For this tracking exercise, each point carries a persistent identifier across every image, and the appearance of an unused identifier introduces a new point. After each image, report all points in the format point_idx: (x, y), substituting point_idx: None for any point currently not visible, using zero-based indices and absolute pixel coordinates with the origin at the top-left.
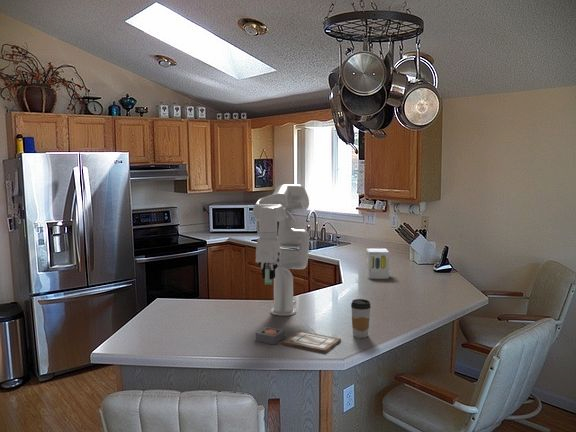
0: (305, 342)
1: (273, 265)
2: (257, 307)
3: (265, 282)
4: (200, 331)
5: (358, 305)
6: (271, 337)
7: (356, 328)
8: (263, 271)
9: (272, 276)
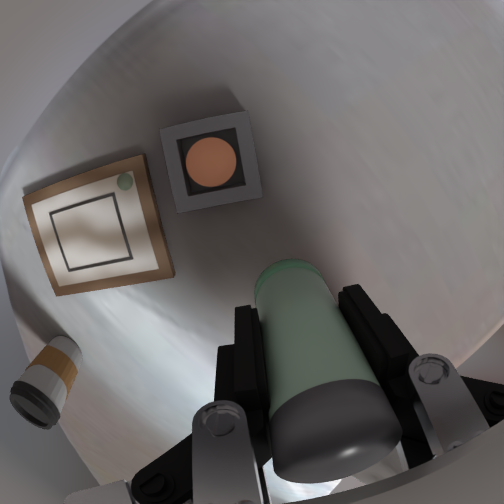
0: (84, 201)
1: (199, 485)
2: (425, 348)
3: (305, 270)
4: (444, 88)
5: (16, 389)
6: (171, 126)
7: (49, 347)
8: (377, 337)
9: (229, 345)
